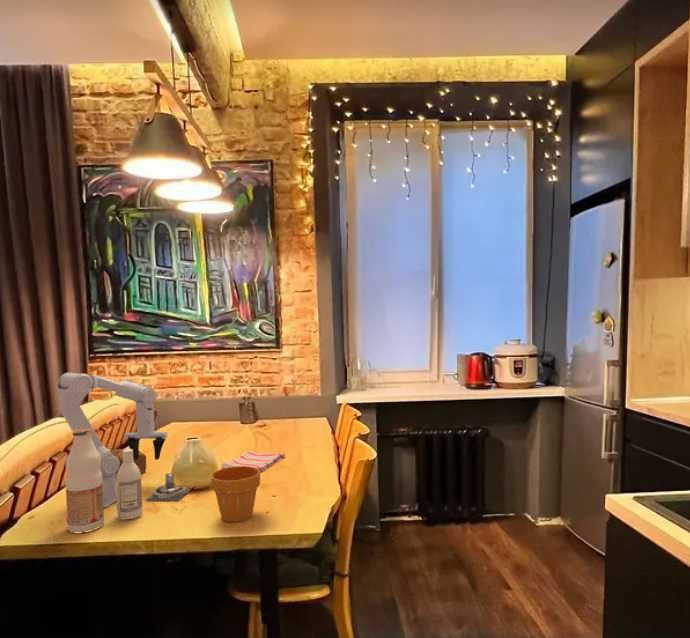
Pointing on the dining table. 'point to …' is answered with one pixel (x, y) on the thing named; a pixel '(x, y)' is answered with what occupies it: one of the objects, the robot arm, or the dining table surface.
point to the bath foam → (128, 488)
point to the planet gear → (169, 485)
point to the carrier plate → (167, 495)
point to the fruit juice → (84, 484)
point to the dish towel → (255, 460)
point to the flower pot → (236, 491)
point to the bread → (139, 462)
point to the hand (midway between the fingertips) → (146, 459)
